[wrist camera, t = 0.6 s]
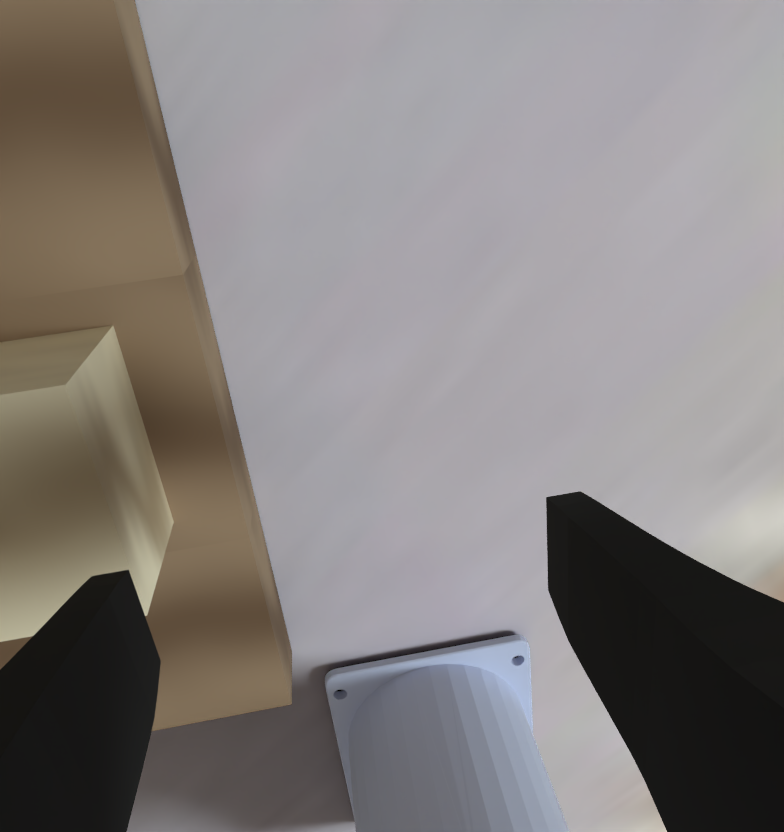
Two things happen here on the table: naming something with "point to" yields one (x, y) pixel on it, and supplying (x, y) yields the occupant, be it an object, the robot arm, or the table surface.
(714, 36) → the table surface
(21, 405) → the maple block
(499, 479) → the table surface
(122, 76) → the trap deck
